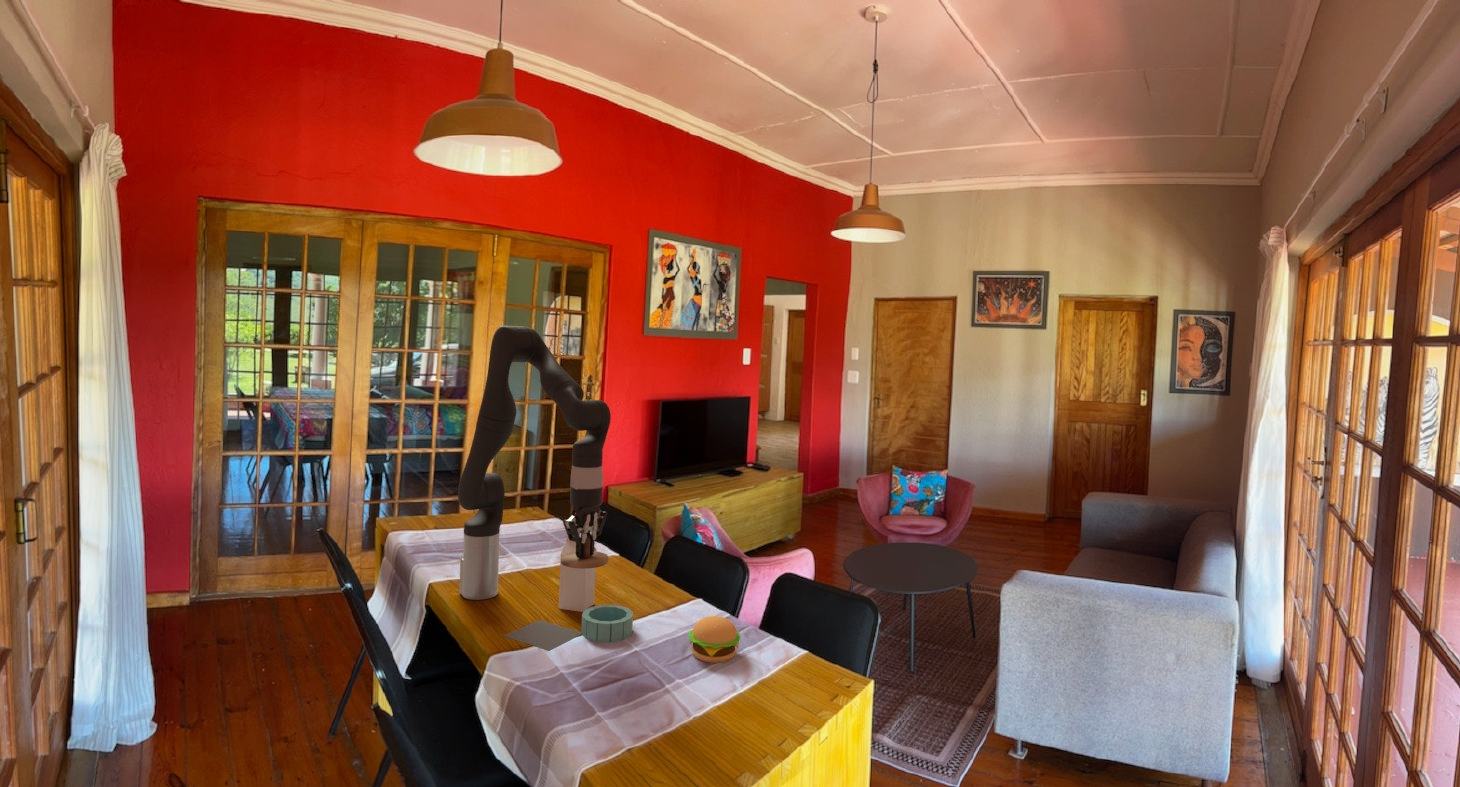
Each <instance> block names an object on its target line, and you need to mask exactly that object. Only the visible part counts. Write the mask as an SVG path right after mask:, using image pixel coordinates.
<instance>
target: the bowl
mask: <svg viewBox="0 0 1460 787" xmlns="http://www.w3.org/2000/svg"><path fill="white" fill-rule="evenodd" d="M633 623H634V612H633V611H632V610H631V609H630V608H628V607H626V606H622V605H618V604H600V605H594V606H593V605H592V606H591V607H589V608H588V609H586V610H584V612H582V614H581V629H580V630H581V631H580V632H581V636H583V637H584V638H585V639H586V640H589V641H593V642H598V643H613V642H621V641H623V640H626V639H627V638H629V637H631V636H632V633H633Z"/></svg>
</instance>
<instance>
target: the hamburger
mask: <svg viewBox="0 0 1460 787" xmlns="http://www.w3.org/2000/svg"><path fill="white" fill-rule="evenodd" d="M688 638H689V639H690V641H689V645H692V646H691V652H692V655H693V656H694V657H695V658H696V659H698V660H700V661H702V662H705V663H712V664H718V663H719V664H720V663H721V664H722V663H725V662H729V661H730V660H732V659H733V657H735V655H736V651H737V650H736V648H737V649H739V646H740V640H741V635H740V632H739V631H738V630H737V628H736V625H735V624H734V623H733V622H732V621H731V620H729V619H728V618H726V617H723V616H719V615H710V616H709V615H708V616H705V617H703V618H701V619H700V620H698V621H696V623H695V624H694V626H693V627H692V630H690V631H689V632H688Z"/></svg>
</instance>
